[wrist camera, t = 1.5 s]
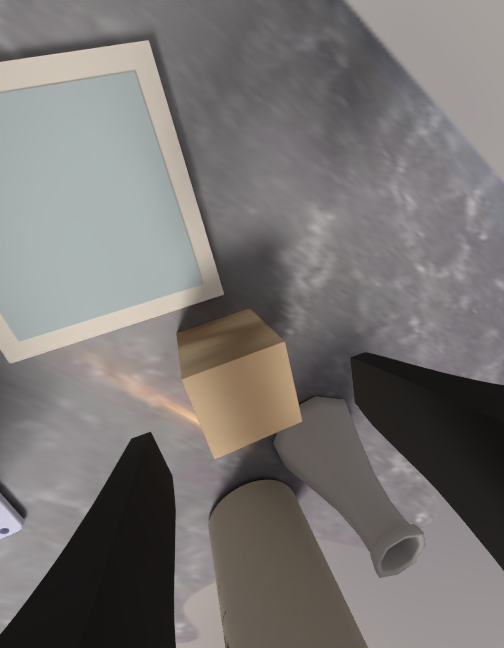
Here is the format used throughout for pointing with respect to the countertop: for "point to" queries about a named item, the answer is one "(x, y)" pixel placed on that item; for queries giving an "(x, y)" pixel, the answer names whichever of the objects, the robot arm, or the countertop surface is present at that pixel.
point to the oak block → (237, 380)
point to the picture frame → (92, 201)
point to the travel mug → (275, 574)
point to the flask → (348, 482)
